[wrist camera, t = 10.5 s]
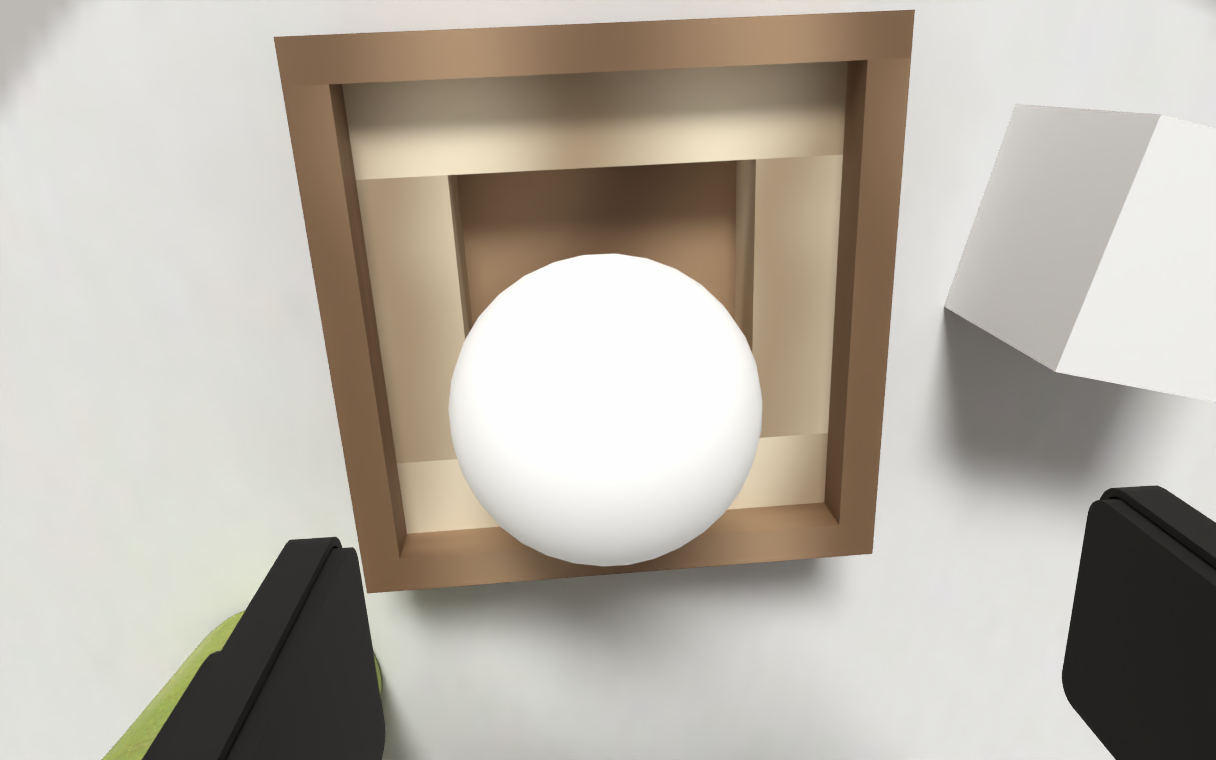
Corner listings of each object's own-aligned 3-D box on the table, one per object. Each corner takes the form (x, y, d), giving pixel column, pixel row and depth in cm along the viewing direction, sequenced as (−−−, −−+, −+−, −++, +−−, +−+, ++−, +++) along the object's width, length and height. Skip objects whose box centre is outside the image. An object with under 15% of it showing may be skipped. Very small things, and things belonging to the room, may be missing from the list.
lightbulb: (658, 420, 26) (735, 660, 15) (458, 375, 25) (398, 600, 14) (719, 225, 24) (855, 351, 13) (505, 168, 23) (474, 257, 12)
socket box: (852, 19, 22) (914, 9, 19) (827, 487, 27) (872, 553, 24) (319, 42, 22) (273, 37, 18) (391, 519, 27) (367, 593, 23)
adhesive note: (1116, 340, 26) (1271, 414, 21) (941, 305, 26) (1053, 373, 20) (1201, 146, 24) (1397, 171, 19) (1014, 102, 24) (1161, 114, 18)
